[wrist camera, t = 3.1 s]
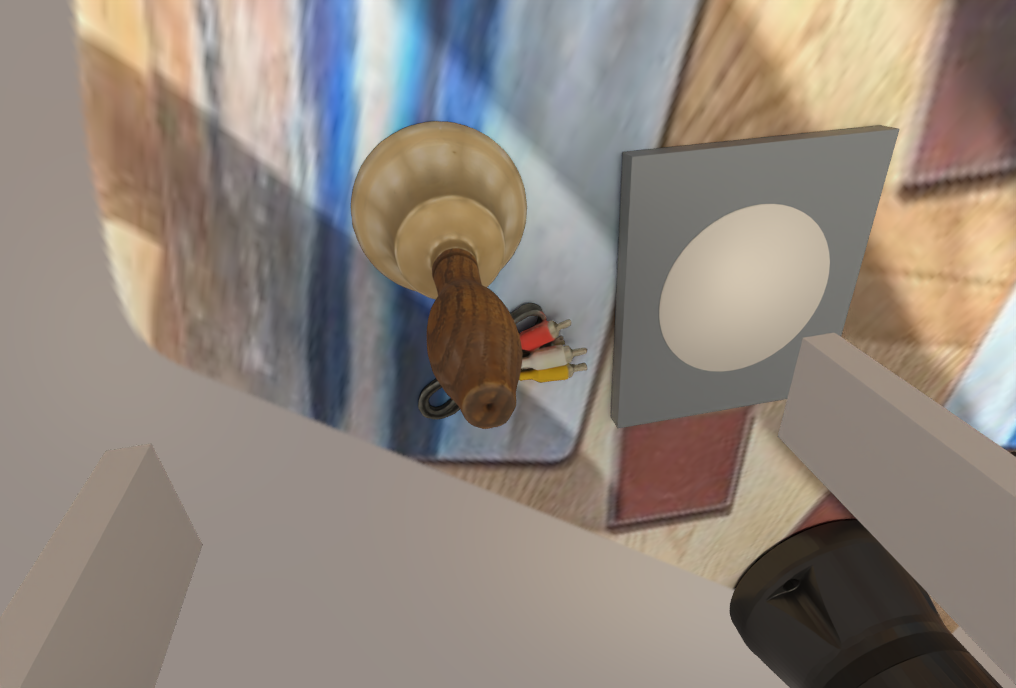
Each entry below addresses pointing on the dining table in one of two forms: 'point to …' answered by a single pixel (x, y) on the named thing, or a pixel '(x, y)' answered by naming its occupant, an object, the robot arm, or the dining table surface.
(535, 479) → the dining table surface
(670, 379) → the board
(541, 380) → the composite cable
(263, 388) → the dining table surface
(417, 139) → the hand bell
